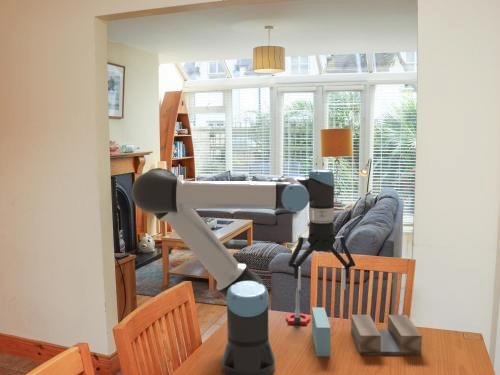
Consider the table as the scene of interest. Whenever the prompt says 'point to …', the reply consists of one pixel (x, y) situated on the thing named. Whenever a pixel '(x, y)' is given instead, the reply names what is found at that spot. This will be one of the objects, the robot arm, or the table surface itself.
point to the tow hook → (297, 314)
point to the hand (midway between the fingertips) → (321, 288)
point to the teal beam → (320, 331)
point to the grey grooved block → (386, 336)
